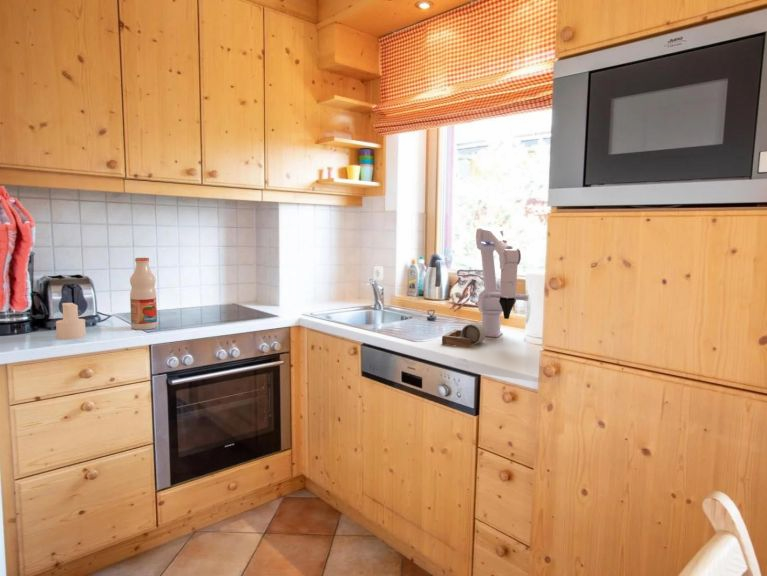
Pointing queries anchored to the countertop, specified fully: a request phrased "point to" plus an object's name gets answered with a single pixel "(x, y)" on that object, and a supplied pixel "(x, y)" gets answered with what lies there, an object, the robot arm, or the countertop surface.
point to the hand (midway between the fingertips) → (506, 318)
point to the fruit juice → (143, 297)
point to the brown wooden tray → (456, 339)
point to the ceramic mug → (474, 333)
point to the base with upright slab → (70, 323)
